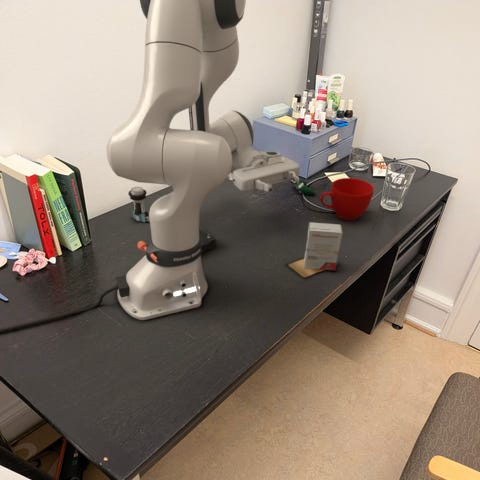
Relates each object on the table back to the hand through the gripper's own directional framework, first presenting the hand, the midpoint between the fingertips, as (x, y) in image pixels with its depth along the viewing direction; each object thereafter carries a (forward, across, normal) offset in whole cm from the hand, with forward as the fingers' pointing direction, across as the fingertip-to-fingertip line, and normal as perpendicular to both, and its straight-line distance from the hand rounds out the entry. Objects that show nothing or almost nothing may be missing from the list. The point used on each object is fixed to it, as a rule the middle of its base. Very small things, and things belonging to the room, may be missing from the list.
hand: (283, 185), depth 121 cm
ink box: (+16, +1, +17) cm, 24 cm away
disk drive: (-13, -24, +18) cm, 32 cm away
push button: (-32, -29, +18) cm, 47 cm away
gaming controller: (-22, +28, +17) cm, 40 cm away
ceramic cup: (-1, +27, +17) cm, 32 cm away
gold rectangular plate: (+15, 0, +17) cm, 23 cm away
